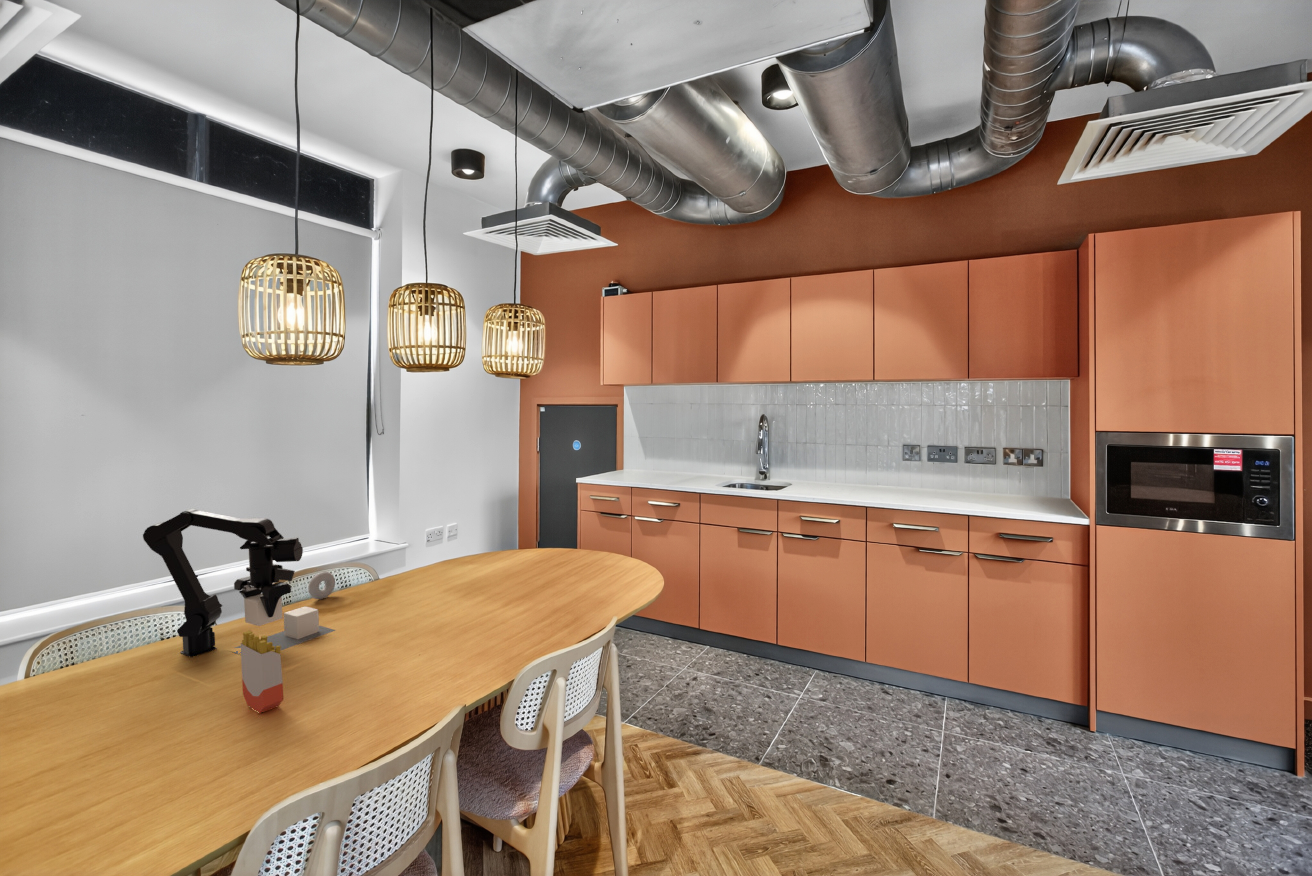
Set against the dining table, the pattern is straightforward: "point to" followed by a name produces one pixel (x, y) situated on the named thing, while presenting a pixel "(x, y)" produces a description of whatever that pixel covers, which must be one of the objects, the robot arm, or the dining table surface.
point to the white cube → (260, 611)
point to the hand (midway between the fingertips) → (263, 615)
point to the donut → (315, 583)
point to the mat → (287, 641)
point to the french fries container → (261, 672)
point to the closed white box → (301, 622)
